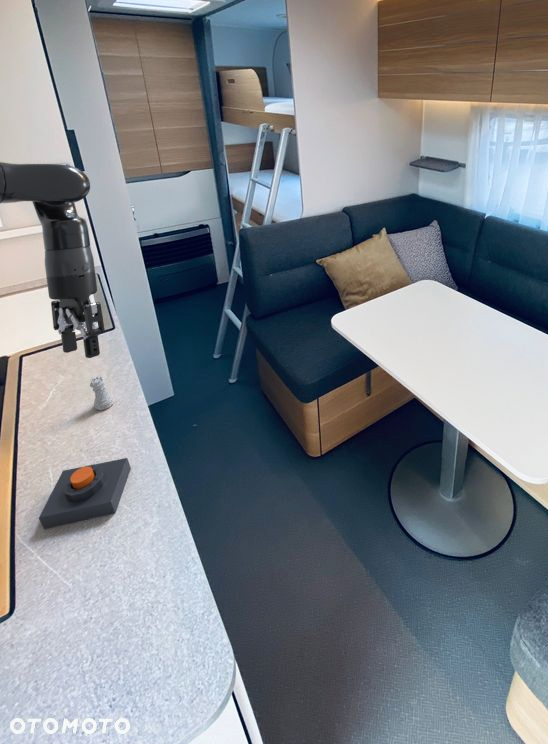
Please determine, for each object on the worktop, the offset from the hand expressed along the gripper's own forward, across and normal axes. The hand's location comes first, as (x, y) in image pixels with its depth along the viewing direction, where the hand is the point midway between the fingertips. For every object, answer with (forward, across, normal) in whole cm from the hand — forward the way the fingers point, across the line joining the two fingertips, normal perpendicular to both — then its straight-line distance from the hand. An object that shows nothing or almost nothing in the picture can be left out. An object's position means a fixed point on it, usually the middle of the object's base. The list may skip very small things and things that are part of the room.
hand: (81, 354), depth 79 cm
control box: (+29, -1, -1) cm, 29 cm away
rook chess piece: (+21, -23, +14) cm, 34 cm away
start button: (+25, 0, -2) cm, 25 cm away
